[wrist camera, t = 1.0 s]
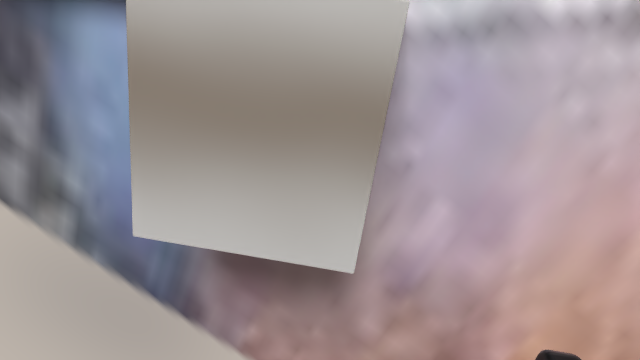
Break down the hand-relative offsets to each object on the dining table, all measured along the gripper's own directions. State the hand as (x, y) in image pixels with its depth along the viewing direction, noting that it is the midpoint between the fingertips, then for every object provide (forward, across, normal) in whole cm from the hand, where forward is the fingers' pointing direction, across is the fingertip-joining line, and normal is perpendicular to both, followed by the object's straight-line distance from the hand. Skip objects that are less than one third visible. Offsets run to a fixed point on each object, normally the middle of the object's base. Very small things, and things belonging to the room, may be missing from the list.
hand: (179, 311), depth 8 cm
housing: (+11, 0, 0) cm, 11 cm away
